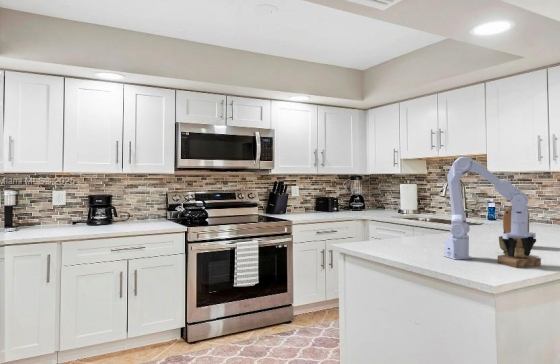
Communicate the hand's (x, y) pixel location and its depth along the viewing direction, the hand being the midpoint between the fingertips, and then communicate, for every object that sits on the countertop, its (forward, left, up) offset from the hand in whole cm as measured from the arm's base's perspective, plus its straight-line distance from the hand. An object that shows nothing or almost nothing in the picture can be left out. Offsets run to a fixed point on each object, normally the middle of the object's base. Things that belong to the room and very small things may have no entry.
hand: (518, 256), depth 152 cm
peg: (0, 0, -3) cm, 3 cm away
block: (+32, +32, -4) cm, 45 cm away
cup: (+12, +17, -4) cm, 21 cm away
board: (0, 0, -3) cm, 3 cm away
